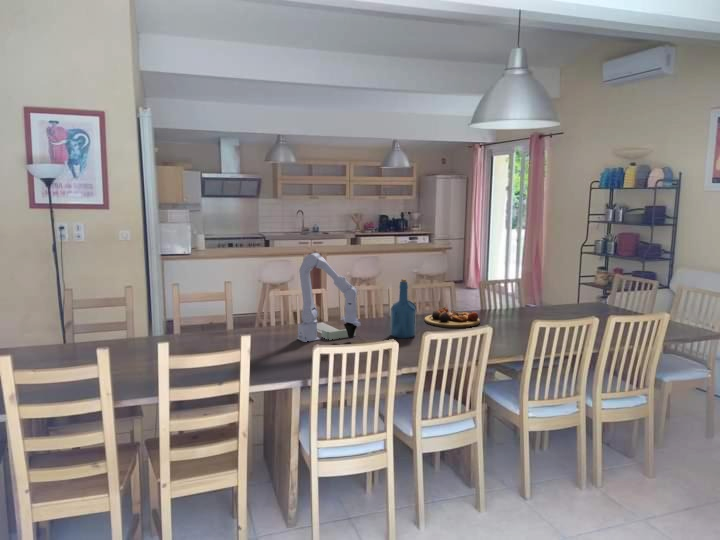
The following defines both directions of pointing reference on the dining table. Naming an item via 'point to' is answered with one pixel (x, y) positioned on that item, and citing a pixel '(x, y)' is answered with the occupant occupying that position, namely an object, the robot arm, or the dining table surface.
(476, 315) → the wooden plate with food
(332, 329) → the baseboard molding
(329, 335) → the end cap
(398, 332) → the wine bottle
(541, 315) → the dining table surface
